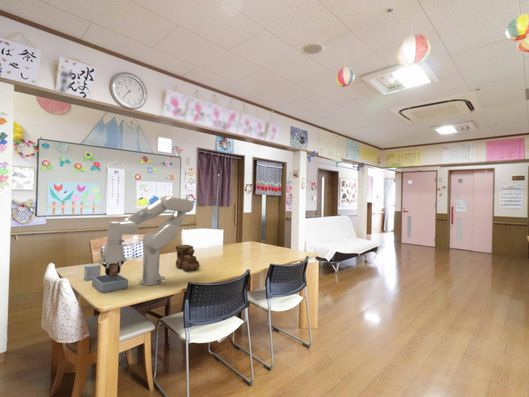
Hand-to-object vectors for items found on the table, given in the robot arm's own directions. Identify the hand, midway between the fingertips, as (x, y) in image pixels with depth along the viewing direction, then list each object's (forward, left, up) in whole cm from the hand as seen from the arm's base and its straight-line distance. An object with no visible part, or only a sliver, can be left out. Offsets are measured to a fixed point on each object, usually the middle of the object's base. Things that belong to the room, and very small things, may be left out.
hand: (112, 273), depth 160 cm
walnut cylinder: (0, 0, -1) cm, 1 cm away
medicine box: (+21, -18, -9) cm, 29 cm away
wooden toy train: (-32, -48, -9) cm, 58 cm away
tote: (+3, -4, -9) cm, 10 cm away
